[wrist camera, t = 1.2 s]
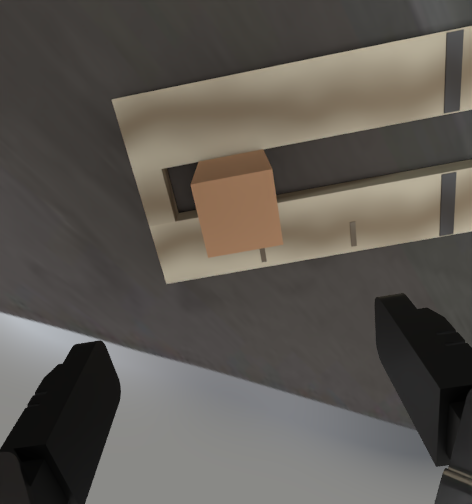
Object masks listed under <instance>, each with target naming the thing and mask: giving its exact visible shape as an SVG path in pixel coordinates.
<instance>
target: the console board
mask: <svg viewBox="0 0 472 504" xmlns="http://www.w3.org/2000/svg"><path fill="white" fill-rule="evenodd" d="M112 103H113V106H114V109H115V113H116V116H117V120H118V123H119V126H120V130H121V133H122V136H123V140H124V143H125V146H126V150H127V153H128V156H129V160H130V163H131V166H132V170H133V173H134V177H135V180H136V183H137V187H138V190H139V193H140V197H141V200H142V203H143V207H144V210H145V213H146V217H147V220H148V223H149V227H150V230H151V234H152V237H153V240H154V244H155V247H156V250H157V254H158V257H159V260H160V264H161V267H162V270H163V274H164V277H165V280H166V284H169V283H175V282H181V281H186V280H192V279H198V278H204V277H210V276H215V275H221V274H227V273H233V272H239V271H244V270H250V269H256V268H262V267H268V266H273V265H279V264H285V263H291V262H297V261H302V260H308V259H314V258H320V257H326V256H331V255H337V254H343V253H349V252H355V251H360V250H366V249H372V248H378V247H384V246H389V245H395V244H401V243H407V242H413V241H418V240H424V239H430V238H436V237H442V236H447V235H453V234H459V233H465V232H471V231H472V159H470V160H464V161H459V162H454V163H448V164H443V165H437V166H432V167H426V168H421V169H415V170H410V171H405V172H399V173H394V174H388V175H383V176H377V177H372V178H366V179H361V180H356V181H350V182H345V183H339V184H334V185H328V186H323V187H317V188H312V189H307V190H301V191H296V192H290V193H285V194H279V195H276V198H277V204H278V211H279V218H280V225H281V232H282V238H283V245H279V246H273V247H267V248H262V249H256V250H250V251H245V252H239V253H233V254H228V255H222V256H216V257H210V258H208V256H207V251H206V247H205V243H204V239H203V235H202V231H201V226H200V222H199V218H198V214H197V210H192V211H187V212H181V213H178V209H177V205H176V201H175V197H174V193H173V190H172V186H171V182H170V178H169V174H168V170H167V168H169V167H174V166H180V165H185V164H190V163H195V162H199V161H204V160H210V159H215V158H220V157H225V156H230V155H236V154H241V153H246V152H251V151H257V150H262V149H268V148H274V147H279V146H284V145H289V144H294V143H300V142H305V141H310V140H315V139H321V138H326V137H331V136H336V135H341V134H347V133H352V132H357V131H362V130H367V129H373V128H378V127H383V126H388V125H394V124H399V123H404V122H409V121H414V120H420V119H425V118H430V117H435V116H441V115H446V114H451V113H456V112H461V111H467V110H472V26H468V27H463V28H458V29H453V30H449V31H444V32H439V33H434V34H429V35H424V36H419V37H414V38H409V39H405V40H400V41H395V42H390V43H385V44H380V45H375V46H370V47H366V48H361V49H356V50H351V51H346V52H341V53H336V54H331V55H326V56H322V57H317V58H312V59H307V60H302V61H297V62H292V63H287V64H282V65H278V66H273V67H268V68H263V69H258V70H253V71H248V72H243V73H239V74H234V75H229V76H224V77H219V78H214V79H209V80H204V81H199V82H195V83H190V84H185V85H180V86H175V87H170V88H165V89H160V90H155V91H151V92H146V93H141V94H136V95H131V96H126V97H121V98H116V99H112Z"/></svg>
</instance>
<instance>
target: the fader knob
mask: <svg viewBox="0 0 472 504" xmlns="http://www.w3.org/2000/svg"><path fill="white" fill-rule="evenodd" d="M190 185H191V189H192V193H193V197H194V201H195V206H196V210H197V214H198V218H199V222H200V226H201V231H202V235H203V239H204V243H205V247H206V251H207V256H208V258H210V257H216V256H222V255H228V254H233V253H239V252H245V251H250V250H256V249H262V248H267V247H273V246H279V245H283V238H282V232H281V225H280V218H279V211H278V204H277V198H276V191H275V184H274V177H273V170H272V167H271V165H270V163H269V161H268V159H267V156H266V154H265V152H264V150H263V149H262V150H257V151H251V152H246V153H241V154H236V155H230V156H225V157H220V158H215V159H210V160H204V161H199V162H198V165H197V168H196V170H195V173H194V176H193V179H192V182H191V184H190Z"/></svg>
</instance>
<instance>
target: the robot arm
mask: <svg viewBox="0 0 472 504" xmlns="http://www.w3.org/2000/svg"><path fill="white" fill-rule="evenodd" d="M375 328H376V345H377V351H378V354H379V358H380V360H381V363H382V365H383V367H384V369H385V370H386V372H387V374H388V376H389V378H390V380H391V382H392V384H393V386H394V388H395V389H396V391H397V393H398V395H399V397H400V399H401V401H402V403H403V405H404V407H405V408H406V410H407V412H408V414H409V416H410V418H411V420H412V422H413V424H414V426H415V427H416V429H417V431H418V433H419V435H420V437H421V439H422V441H423V443H424V444H425V446H426V448H427V450H428V452H429V454H430V456H431V457H432V460H433V462H434V463H435V465H436V466H445V465H449V467H448V469H447V468H445V470H444V472H443V475H442V478H441V481H440V485H439V489H438V493H437V496H436V500H435V504H472V348H471V347H470V346H469V344H468V343H465V340H464V339H463V338H462V337H461V335H460V334H459V333H458V332H457V333H456V330H455V329H454V328H453V326H452V325H451V324H450V323H449V322H448V321H447V320H446V318H445V317H443V316H441V315H439V314H438V313H436V312H434V311H432V310H430V309H429V308H422V309H417V308H416V307H415V306H414V305H413V303H412V302H411V301H410V300H409V298H408V297H407V296H406V295H405V294H404V293H401V294H395V295H388V296H382V297H376V299H375ZM120 394H121V390H120V382H119V378H118V376H117V373H116V371H115V369H114V366H113V363H112V361H111V358H110V356H109V353H108V351H107V348H106V346H105V344H104V343H103V342H102V341H94V342H88V343H81V344H76V345H74V346H73V347H72V349H71V350H70V352H69V354H68V355H67V357H66V359H65V361H64V362H63V364H58V365H57V366H56V367H55V368H54V369H53V370H52V371H51V372H50V373H49V374H48V375H47V376H45V377H44V379H43V380H42V382H41V384H40V385H39V387H38V388H37V390H36V392H35V395H34V396H33V397H32V398H31V400H30V401H29V403H28V407H27V408H25V409H24V411H23V413H22V415H21V416H20V418H19V419H18V421H17V422H16V424H15V426H14V427H13V429H12V431H11V432H10V434H9V436H8V437H7V439H6V441H5V442H4V444H3V445H2V447H1V449H0V504H85V502H86V498H87V496H88V493H89V490H90V487H91V484H92V481H93V478H94V475H95V472H96V469H97V466H98V463H99V460H100V457H101V455H102V452H103V448H104V446H105V443H106V440H107V437H108V434H109V431H110V428H111V425H112V422H113V419H114V416H115V413H116V410H117V407H118V404H119V401H120Z"/></svg>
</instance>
